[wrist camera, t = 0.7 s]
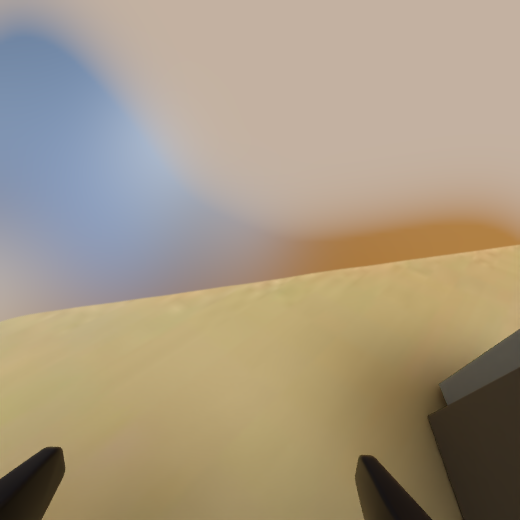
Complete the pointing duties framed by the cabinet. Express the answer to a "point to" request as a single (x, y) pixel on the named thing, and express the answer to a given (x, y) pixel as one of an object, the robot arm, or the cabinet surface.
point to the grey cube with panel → (483, 433)
